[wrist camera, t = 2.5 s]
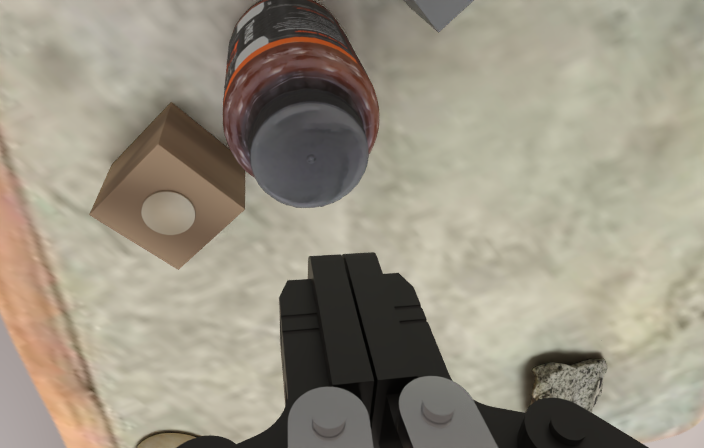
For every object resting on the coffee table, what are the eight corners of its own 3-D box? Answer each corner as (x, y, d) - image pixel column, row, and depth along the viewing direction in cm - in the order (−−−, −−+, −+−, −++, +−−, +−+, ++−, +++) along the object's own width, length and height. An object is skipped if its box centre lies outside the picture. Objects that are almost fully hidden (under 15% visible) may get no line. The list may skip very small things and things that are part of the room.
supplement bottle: (210, 7, 24) (189, 94, 15) (333, -22, 25) (385, 46, 15) (248, 122, 28) (249, 249, 19) (356, 96, 28) (409, 209, 19)
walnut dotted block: (171, 101, 27) (157, 145, 23) (245, 161, 29) (244, 211, 25) (111, 164, 28) (88, 217, 24) (187, 216, 31) (177, 272, 26)
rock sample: (649, 423, 46) (618, 497, 40) (564, 411, 51) (526, 474, 46) (615, 319, 44) (577, 381, 38) (532, 319, 49) (487, 372, 44)
